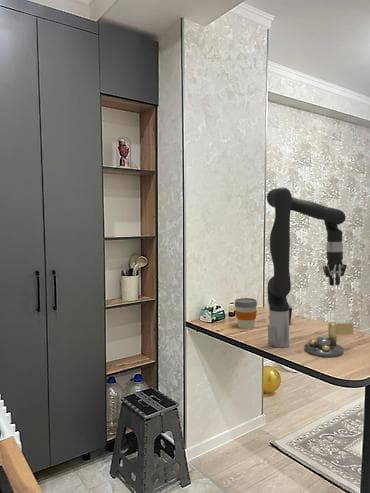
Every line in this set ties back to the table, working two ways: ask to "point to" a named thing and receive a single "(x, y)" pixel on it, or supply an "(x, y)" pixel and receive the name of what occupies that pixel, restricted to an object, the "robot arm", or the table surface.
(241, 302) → the reusable coffee cup
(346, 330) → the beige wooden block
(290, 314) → the coffee mug
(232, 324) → the table surface
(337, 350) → the levelling base
